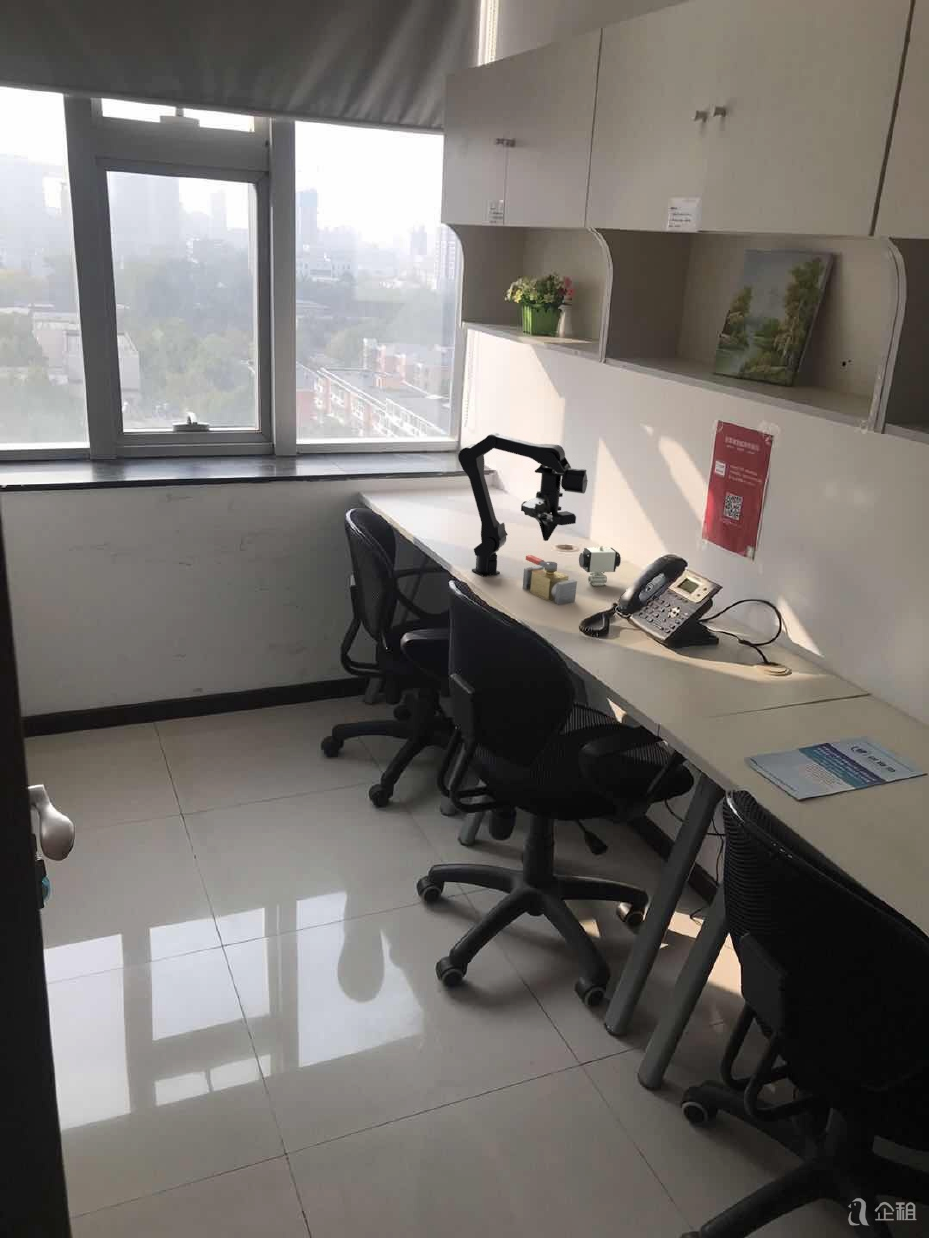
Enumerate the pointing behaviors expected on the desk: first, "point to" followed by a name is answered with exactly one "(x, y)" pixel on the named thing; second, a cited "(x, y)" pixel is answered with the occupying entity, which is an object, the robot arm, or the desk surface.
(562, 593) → the valve pipe
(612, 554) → the pneumatic valve
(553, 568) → the lever
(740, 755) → the desk surface
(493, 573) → the robot arm
